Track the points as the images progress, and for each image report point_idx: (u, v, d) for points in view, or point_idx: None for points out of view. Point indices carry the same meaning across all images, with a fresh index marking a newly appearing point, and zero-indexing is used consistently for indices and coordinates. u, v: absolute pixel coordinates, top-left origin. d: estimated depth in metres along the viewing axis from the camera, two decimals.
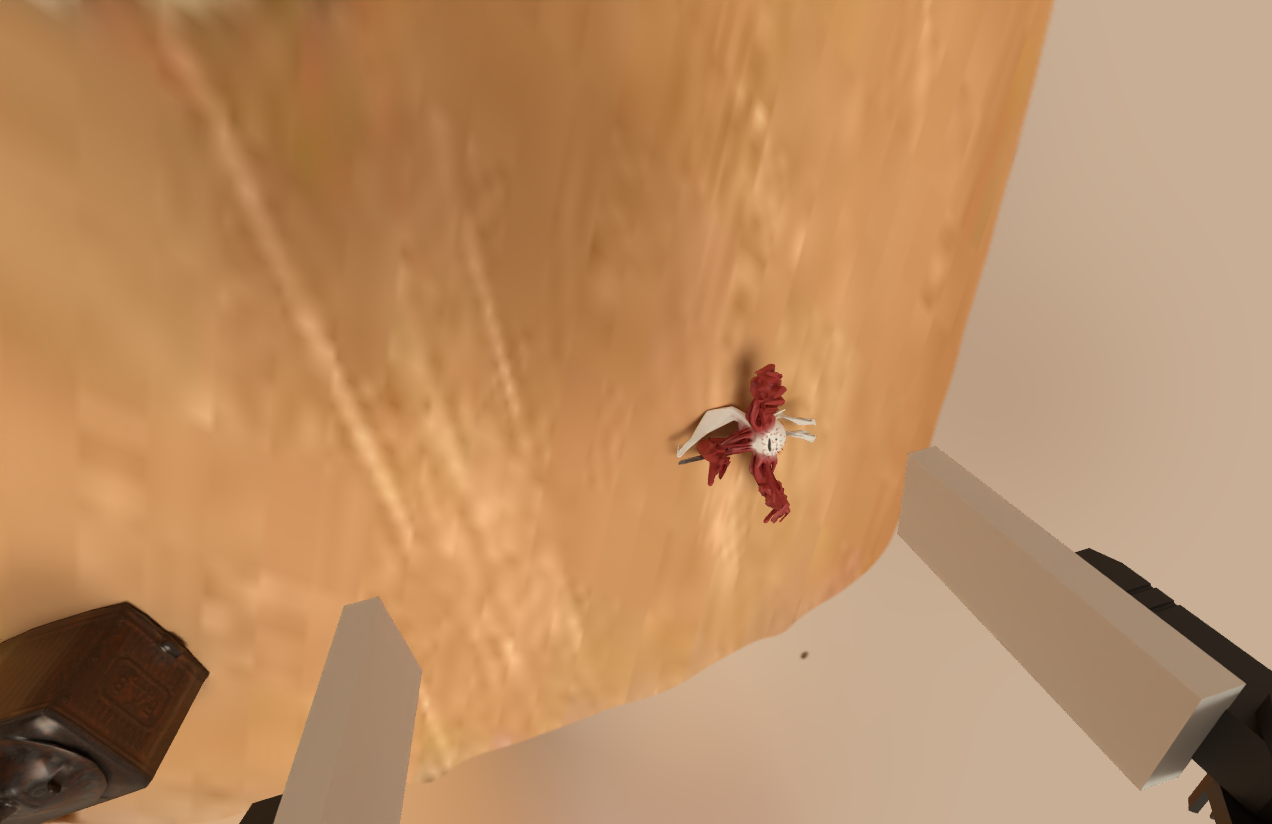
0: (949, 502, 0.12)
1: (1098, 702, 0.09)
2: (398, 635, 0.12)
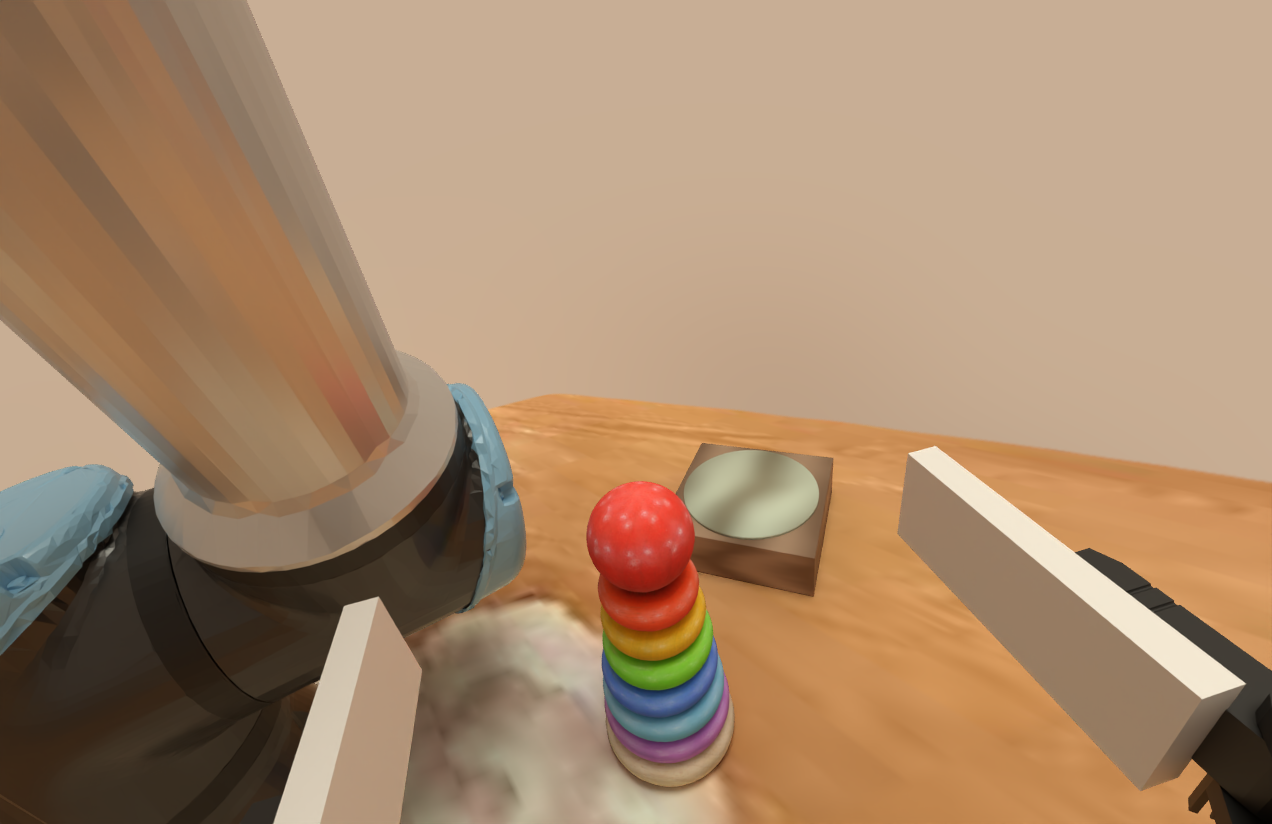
0: (948, 502, 0.12)
1: (1098, 702, 0.09)
2: (399, 635, 0.12)
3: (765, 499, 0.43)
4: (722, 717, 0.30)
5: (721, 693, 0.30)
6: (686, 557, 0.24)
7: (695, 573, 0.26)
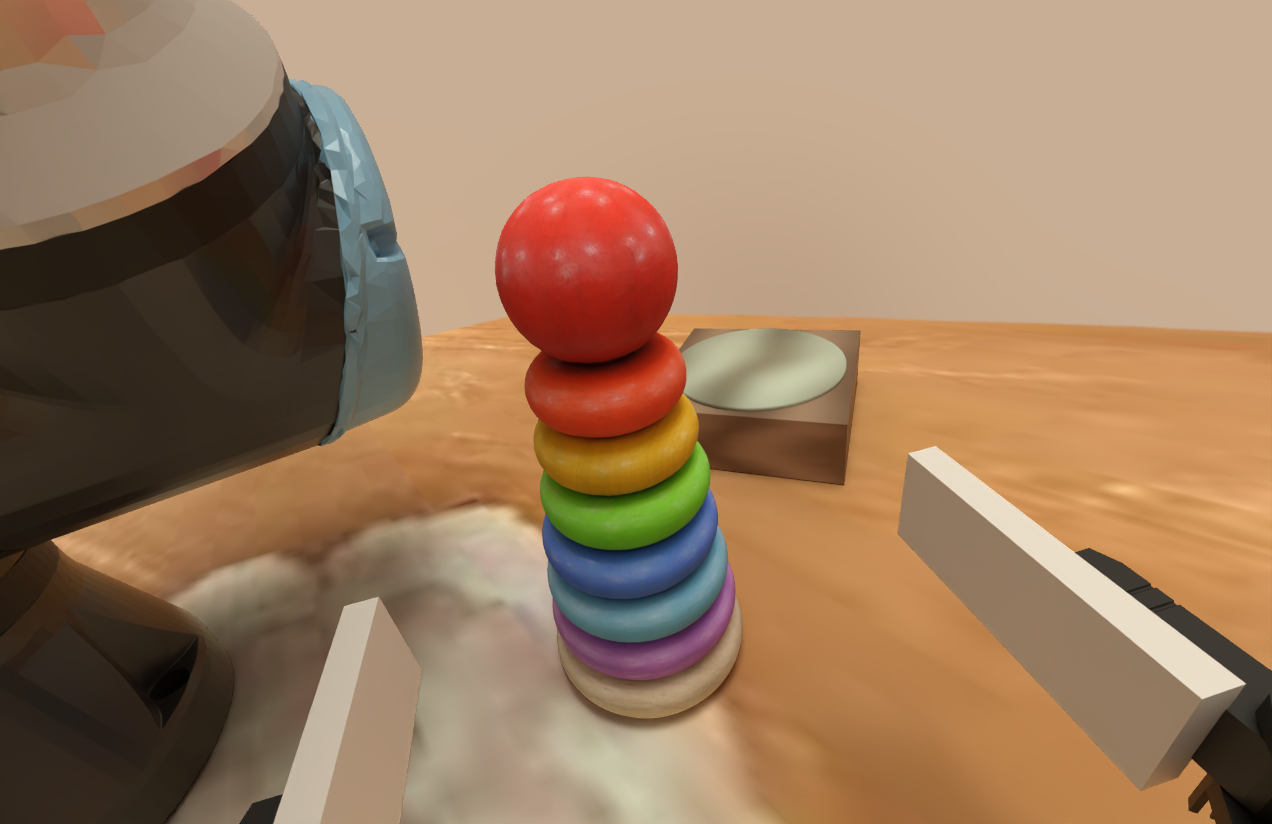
0: (948, 502, 0.12)
1: (1098, 702, 0.09)
2: (399, 635, 0.12)
3: (776, 370, 0.33)
4: (725, 613, 0.20)
5: (723, 573, 0.19)
6: (662, 285, 0.14)
7: (680, 355, 0.16)
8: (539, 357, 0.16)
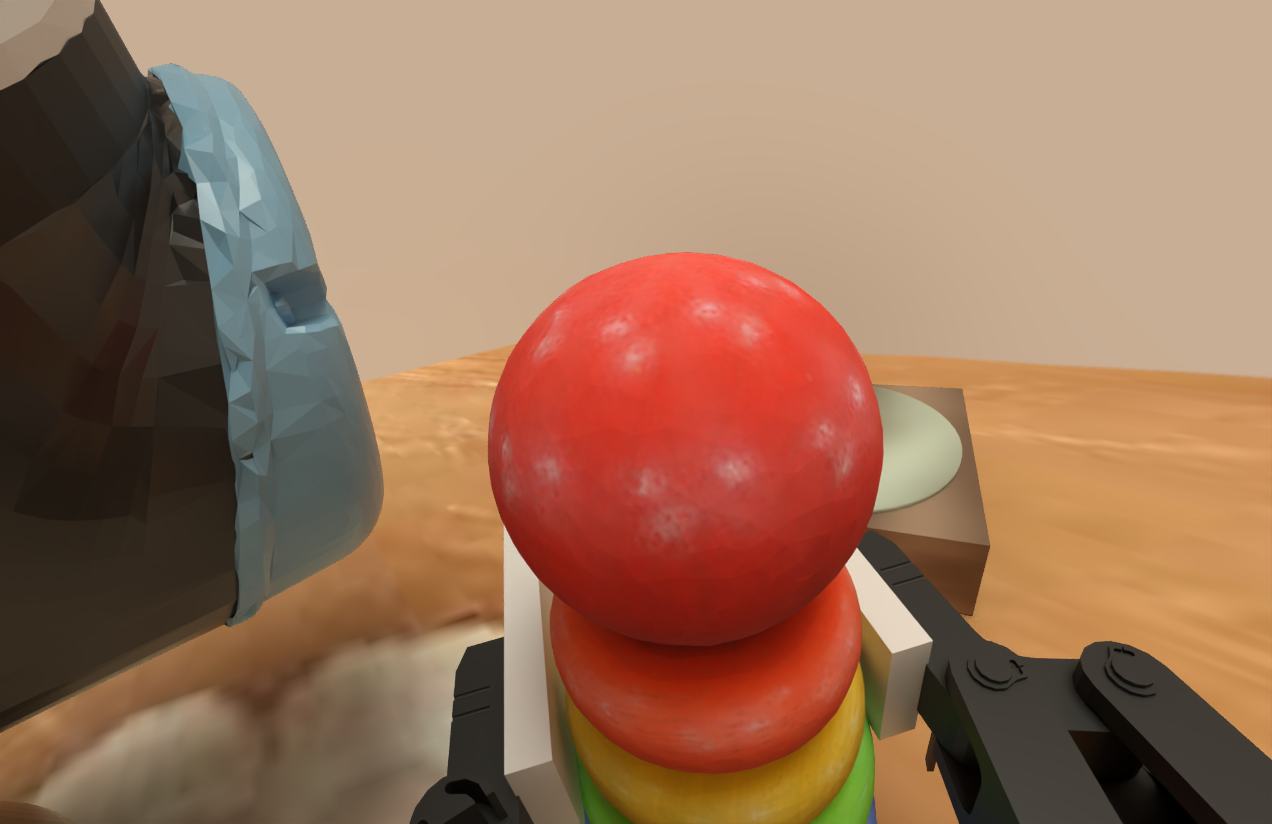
0: None
1: None
2: None
3: None
4: None
5: None
6: (872, 505, 0.06)
7: (846, 571, 0.09)
8: None
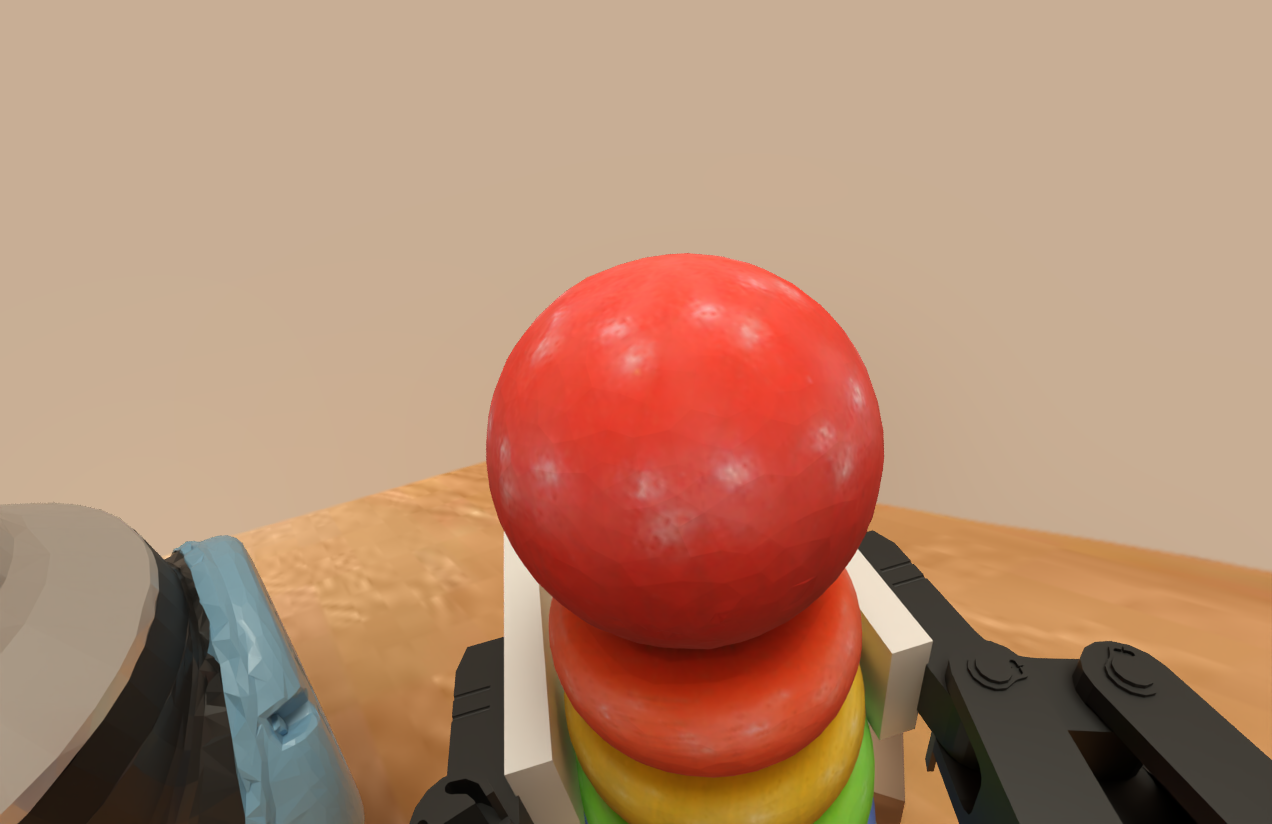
0: None
1: None
2: None
3: None
4: None
5: None
6: (872, 508, 0.06)
7: (846, 573, 0.09)
8: None
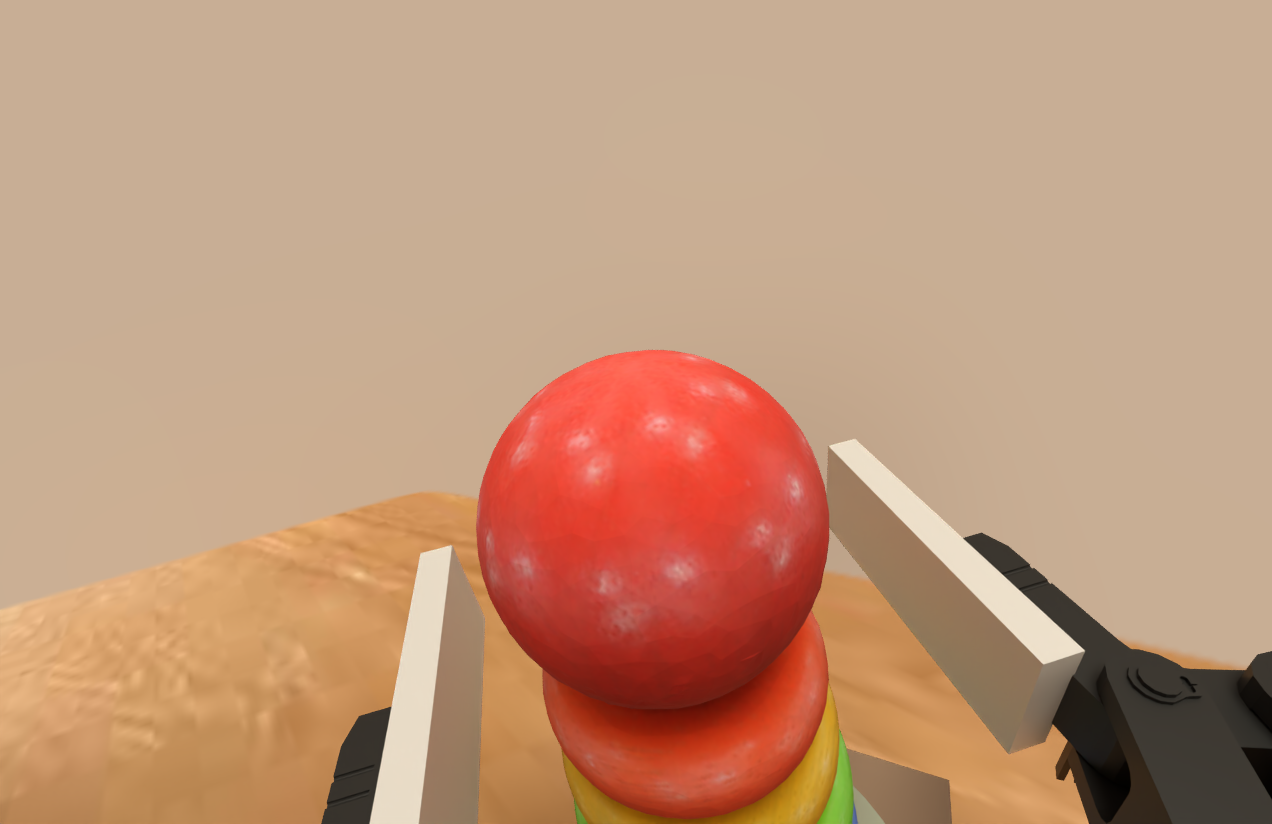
0: (859, 491, 0.13)
1: (975, 673, 0.10)
2: (466, 583, 0.14)
3: None
4: None
5: None
6: (817, 583, 0.07)
7: (814, 623, 0.09)
8: None
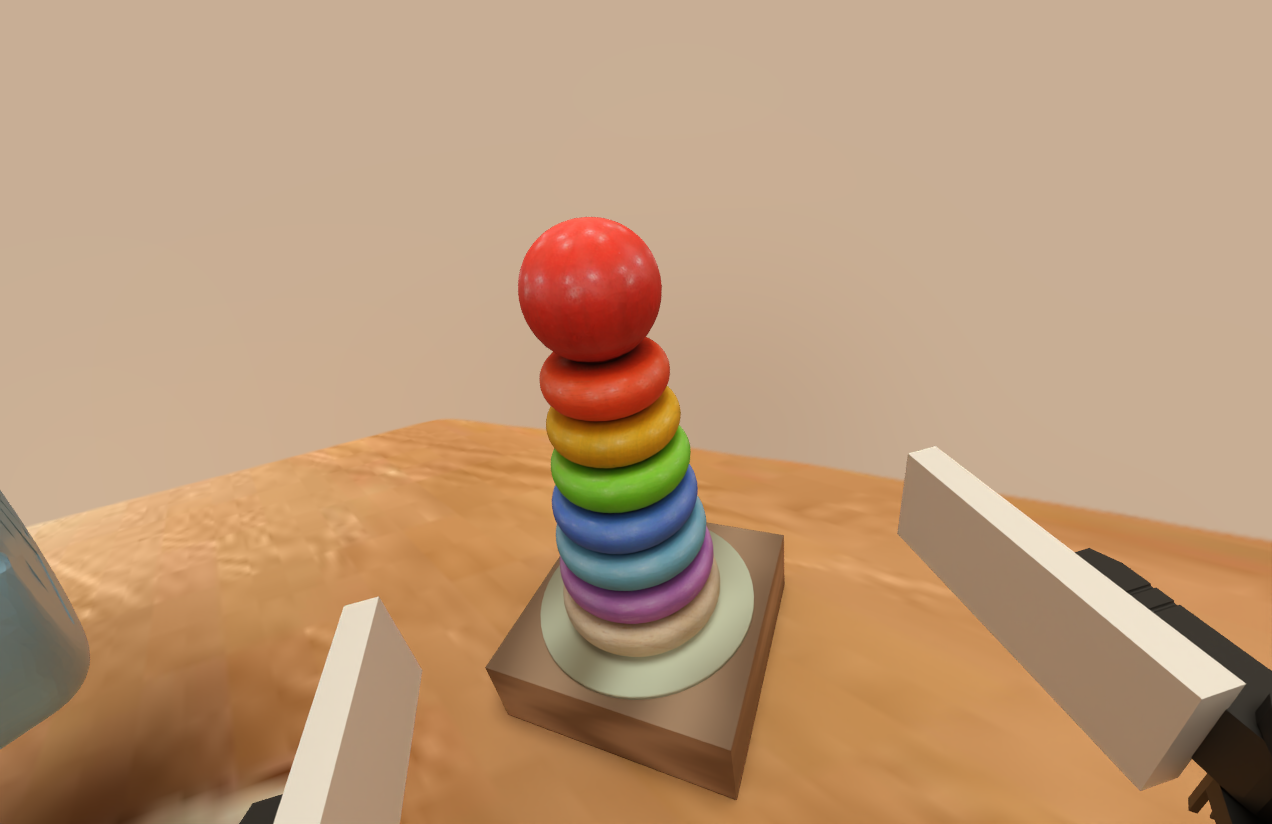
0: (948, 502, 0.12)
1: (1098, 702, 0.09)
2: (399, 635, 0.12)
3: None
4: (704, 570, 0.24)
5: (702, 536, 0.23)
6: (648, 302, 0.18)
7: (665, 356, 0.20)
8: (551, 357, 0.21)
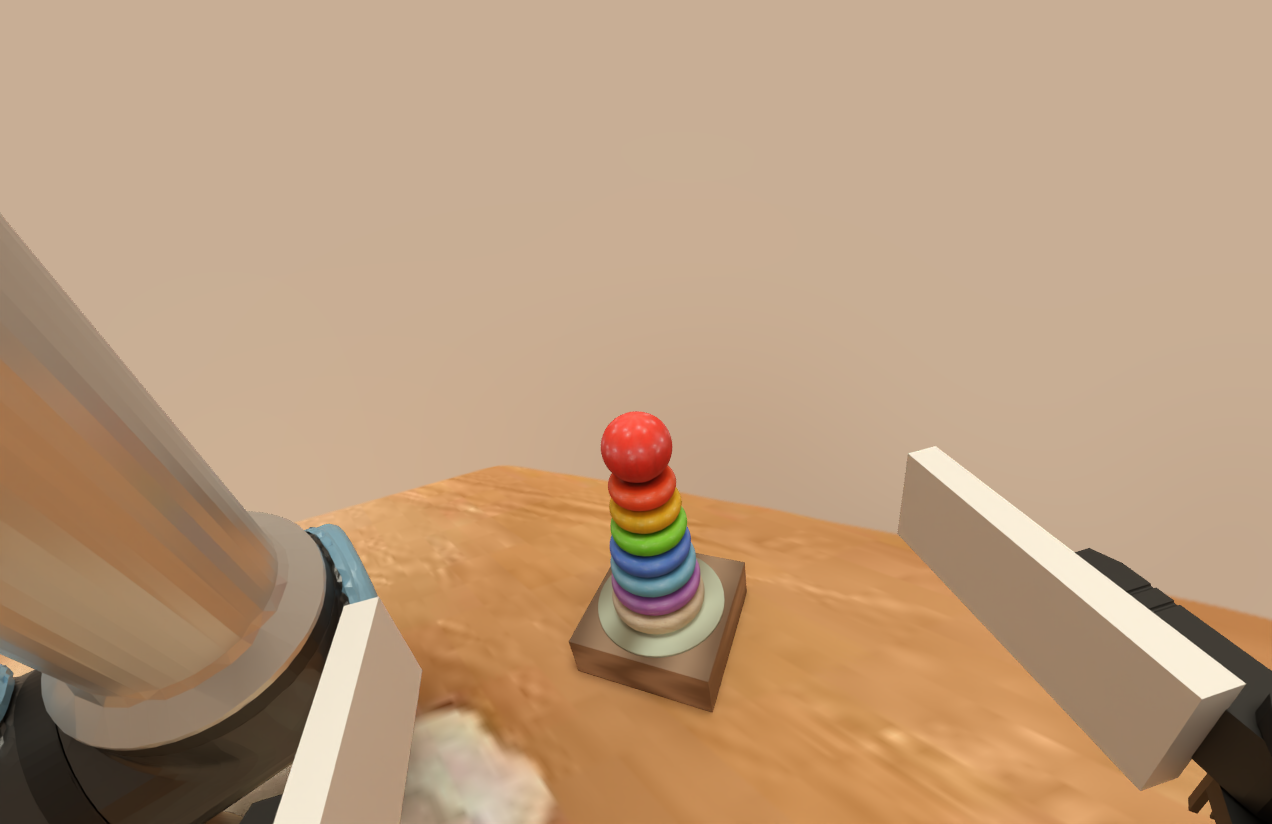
0: (949, 502, 0.12)
1: (1098, 702, 0.09)
2: (399, 635, 0.12)
3: None
4: (694, 585, 0.43)
5: (693, 567, 0.42)
6: (666, 457, 0.37)
7: (673, 475, 0.39)
8: (614, 475, 0.39)
